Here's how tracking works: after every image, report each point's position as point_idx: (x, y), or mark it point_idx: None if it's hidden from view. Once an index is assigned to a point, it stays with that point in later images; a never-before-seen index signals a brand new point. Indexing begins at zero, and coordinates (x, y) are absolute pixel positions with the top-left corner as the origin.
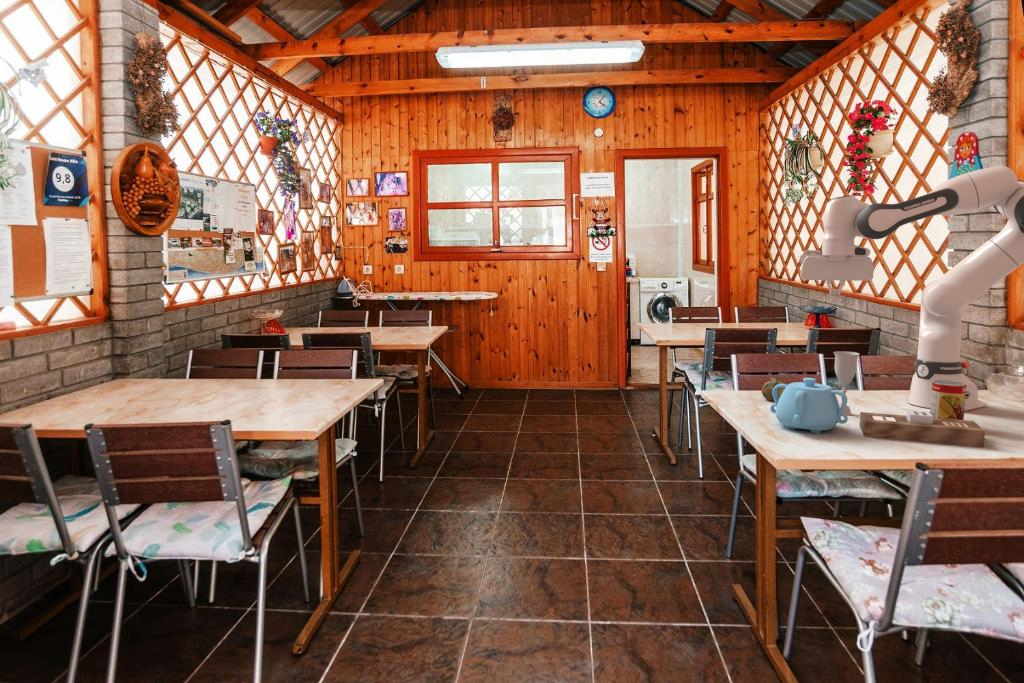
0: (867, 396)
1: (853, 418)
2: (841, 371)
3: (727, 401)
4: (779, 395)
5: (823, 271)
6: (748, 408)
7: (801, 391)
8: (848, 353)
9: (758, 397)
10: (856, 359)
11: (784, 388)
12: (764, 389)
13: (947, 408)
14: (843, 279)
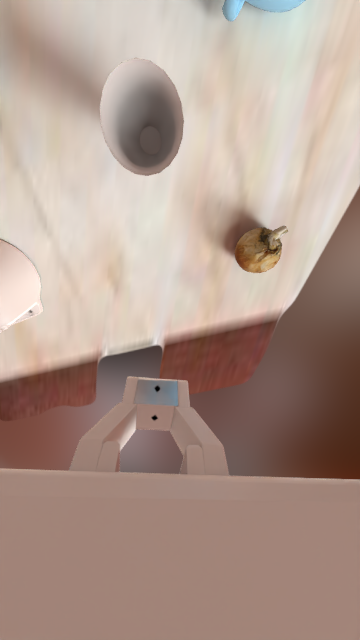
0: (98, 315)
1: None
2: (162, 101)
3: (340, 215)
4: (254, 229)
5: (322, 611)
6: (326, 153)
7: None
8: (132, 167)
9: None
10: (114, 98)
11: (246, 242)
12: (280, 241)
13: None
14: (79, 477)
